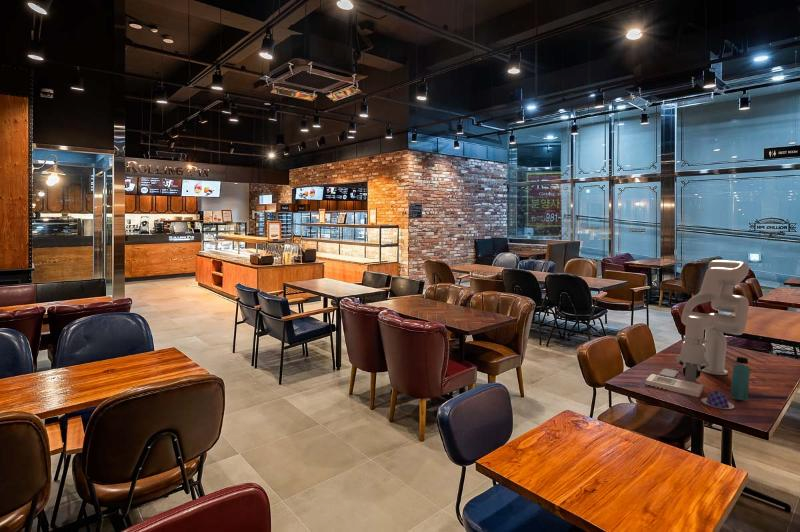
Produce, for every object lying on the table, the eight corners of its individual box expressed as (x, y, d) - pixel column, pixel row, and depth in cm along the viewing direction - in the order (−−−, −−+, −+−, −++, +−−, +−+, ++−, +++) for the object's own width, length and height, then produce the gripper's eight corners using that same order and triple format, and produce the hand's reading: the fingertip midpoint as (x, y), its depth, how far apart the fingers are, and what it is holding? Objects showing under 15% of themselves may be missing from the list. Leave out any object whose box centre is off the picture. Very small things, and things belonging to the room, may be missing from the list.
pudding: (701, 397, 206) (702, 386, 205) (733, 403, 199) (735, 392, 198) (700, 405, 196) (701, 394, 195) (734, 413, 189) (735, 401, 188)
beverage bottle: (750, 404, 198) (755, 360, 195) (733, 402, 199) (738, 359, 197) (742, 398, 204) (747, 356, 202) (726, 397, 205) (730, 354, 203)
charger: (686, 377, 225) (687, 360, 224) (697, 379, 222) (698, 362, 221) (684, 379, 221) (686, 362, 220) (695, 382, 219) (696, 364, 217)
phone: (663, 370, 243) (664, 368, 242) (678, 373, 238) (679, 371, 238) (658, 376, 233) (658, 374, 233) (673, 379, 228) (673, 377, 228)
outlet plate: (651, 378, 228) (651, 373, 228) (702, 389, 214) (703, 384, 213) (645, 384, 219) (645, 379, 219) (698, 397, 205) (699, 391, 204)
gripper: (715, 342, 216) (712, 378, 219) (675, 335, 227) (673, 370, 230) (713, 345, 211) (710, 382, 213) (672, 339, 222) (670, 374, 224)
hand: (691, 375), depth 221 cm, fingers closed on charger, 4 cm apart
